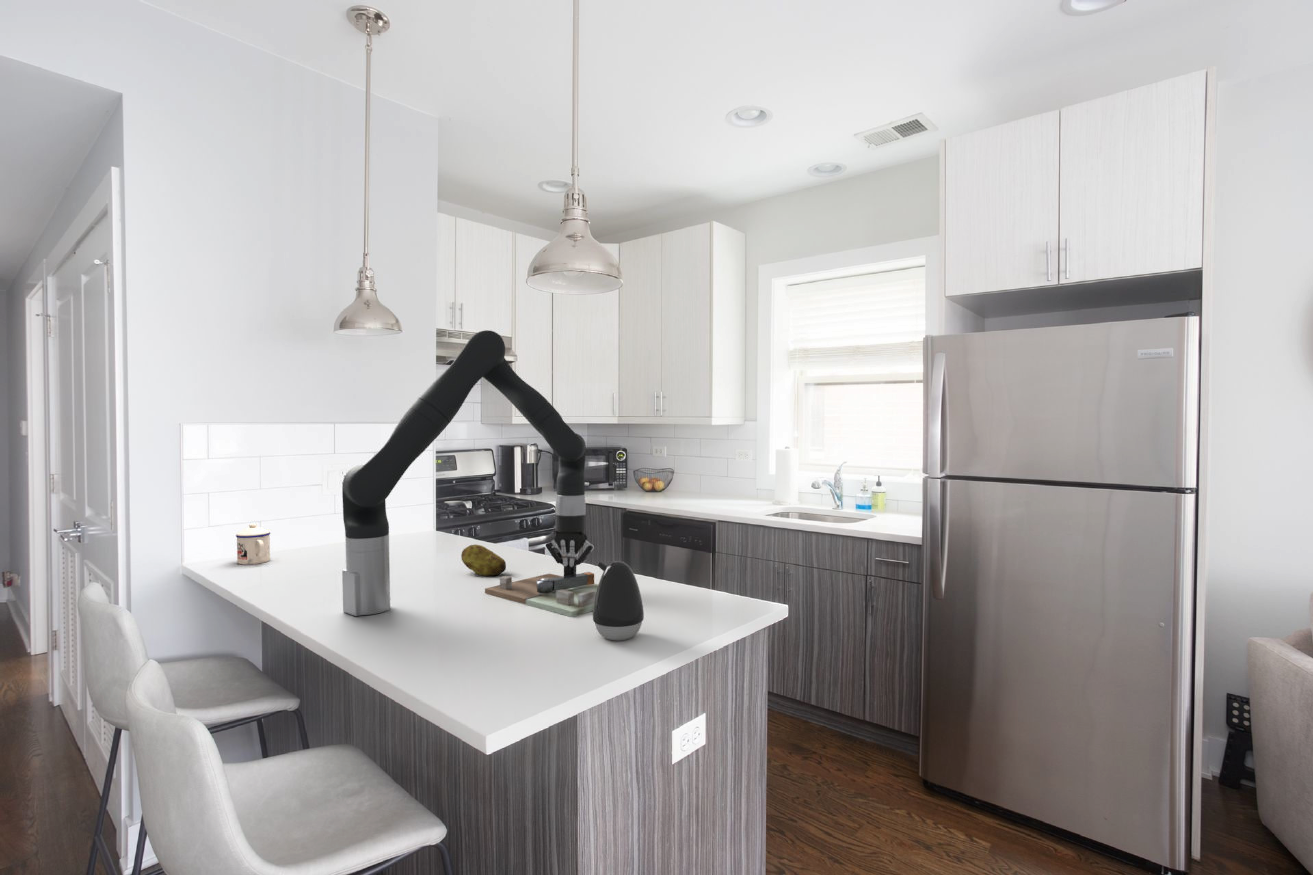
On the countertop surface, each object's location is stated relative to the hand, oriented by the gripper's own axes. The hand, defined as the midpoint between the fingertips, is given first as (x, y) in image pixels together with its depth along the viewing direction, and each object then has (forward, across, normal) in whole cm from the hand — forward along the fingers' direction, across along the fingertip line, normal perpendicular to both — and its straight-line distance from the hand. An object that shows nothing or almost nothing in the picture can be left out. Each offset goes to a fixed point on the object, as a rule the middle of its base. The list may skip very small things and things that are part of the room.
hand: (570, 580), depth 174 cm
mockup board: (+3, -1, -5) cm, 5 cm away
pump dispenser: (+2, +22, -32) cm, 39 cm away
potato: (+3, -30, +12) cm, 33 cm away
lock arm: (+1, 0, -4) cm, 4 cm away
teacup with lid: (+5, -106, +12) cm, 107 cm away
